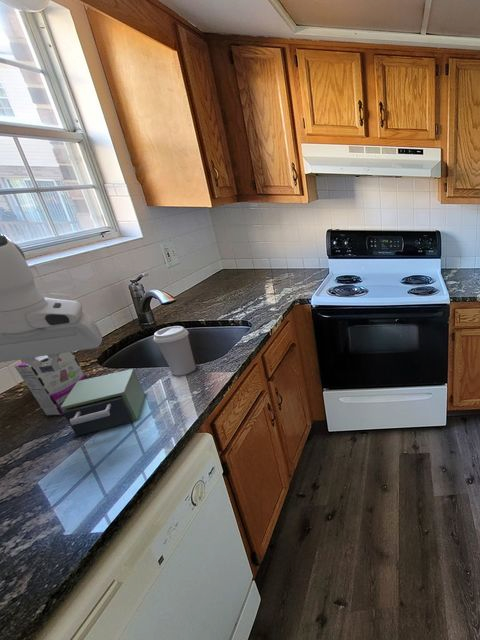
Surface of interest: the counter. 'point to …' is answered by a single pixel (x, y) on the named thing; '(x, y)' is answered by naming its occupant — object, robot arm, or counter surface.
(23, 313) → the robot arm
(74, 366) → the candy bar box
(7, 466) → the counter surface
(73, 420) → the drawer with bar handle
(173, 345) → the coffee cup
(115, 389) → the drawer cabinet
